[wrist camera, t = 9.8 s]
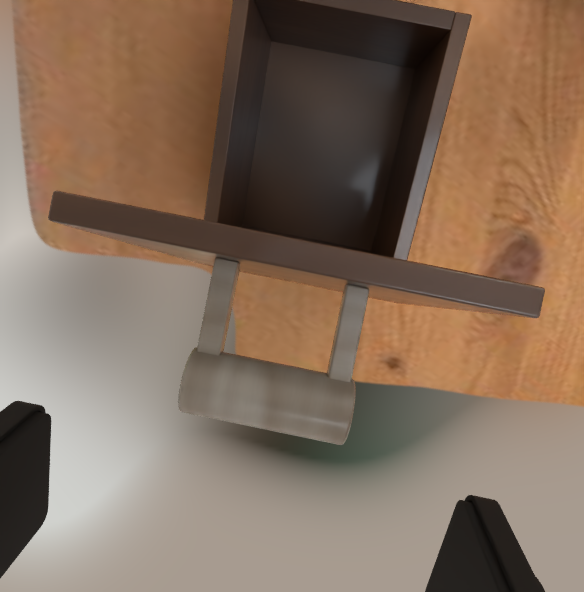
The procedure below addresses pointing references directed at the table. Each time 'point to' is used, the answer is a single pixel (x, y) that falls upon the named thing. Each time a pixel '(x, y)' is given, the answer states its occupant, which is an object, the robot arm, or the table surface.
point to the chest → (332, 118)
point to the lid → (295, 268)
